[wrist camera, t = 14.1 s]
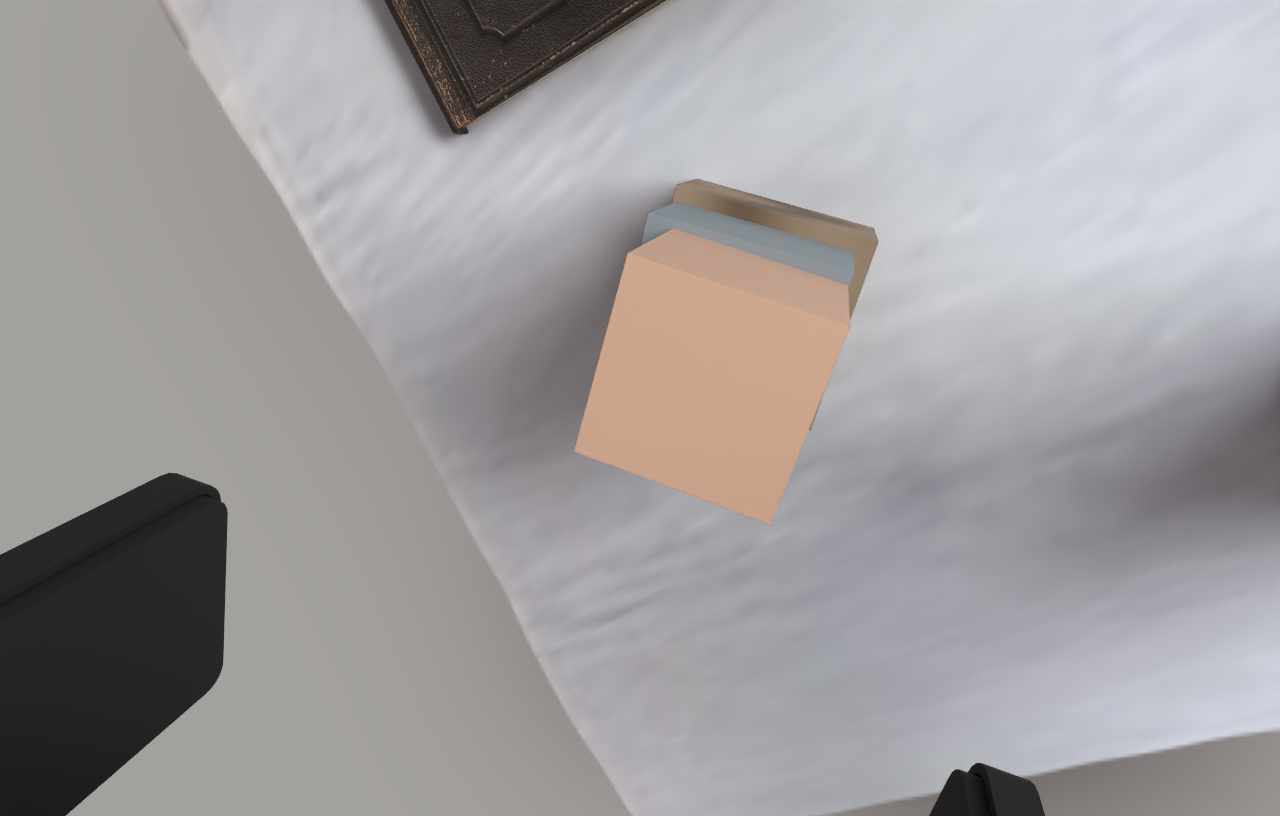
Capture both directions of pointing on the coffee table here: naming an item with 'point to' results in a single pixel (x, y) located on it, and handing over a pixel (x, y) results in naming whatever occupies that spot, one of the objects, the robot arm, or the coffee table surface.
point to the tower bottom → (787, 224)
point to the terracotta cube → (713, 370)
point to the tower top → (753, 240)
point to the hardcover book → (502, 45)
